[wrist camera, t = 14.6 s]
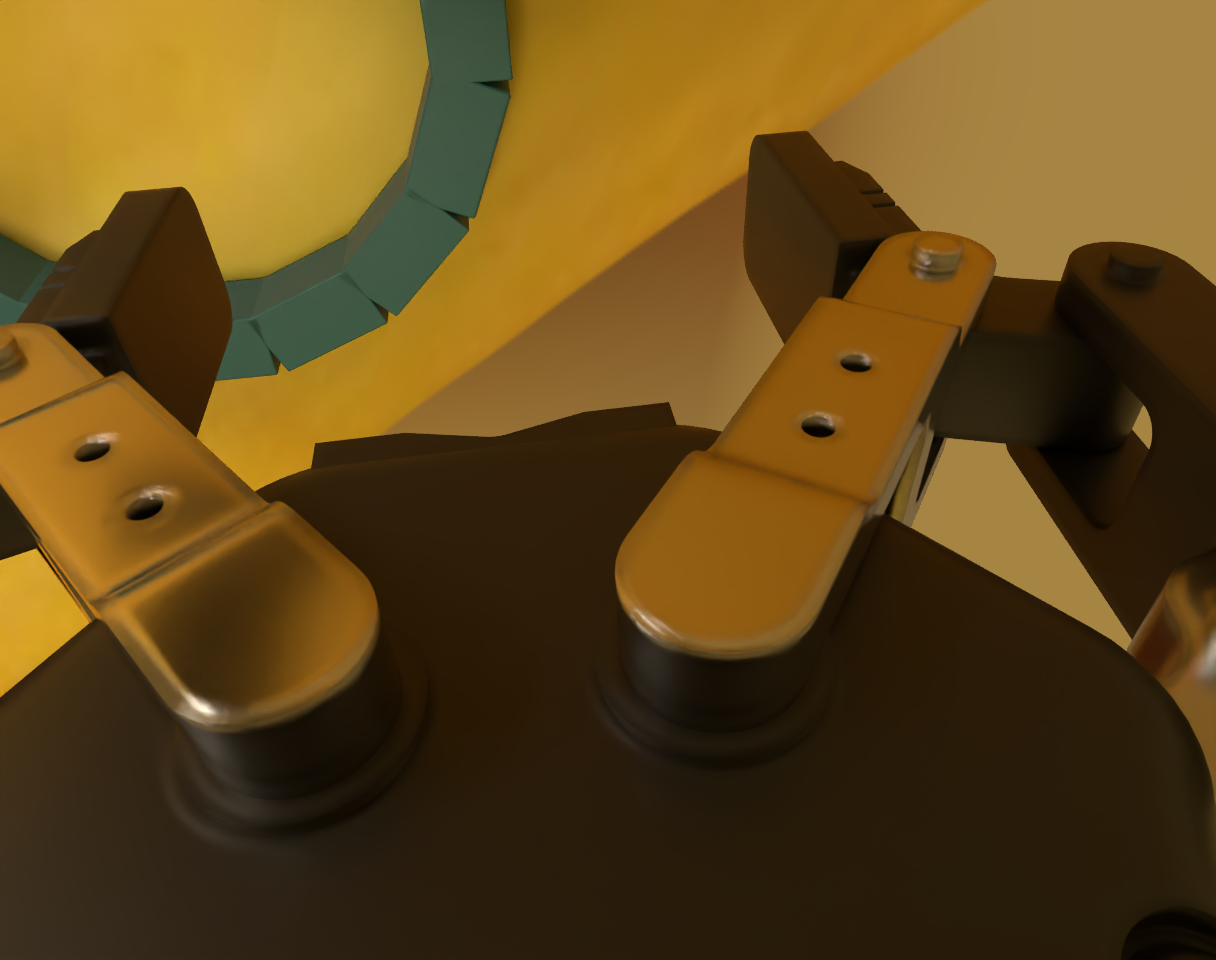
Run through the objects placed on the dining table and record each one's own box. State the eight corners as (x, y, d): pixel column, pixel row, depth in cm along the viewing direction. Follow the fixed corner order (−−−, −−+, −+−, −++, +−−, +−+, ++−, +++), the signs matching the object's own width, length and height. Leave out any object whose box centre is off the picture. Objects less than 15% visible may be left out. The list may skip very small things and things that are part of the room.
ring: (-717, -598, 18) (-886, -645, 15) (443, -605, 20) (443, -647, 17) (-84, 368, 33) (-123, 415, 31) (532, 308, 35) (538, 349, 33)
